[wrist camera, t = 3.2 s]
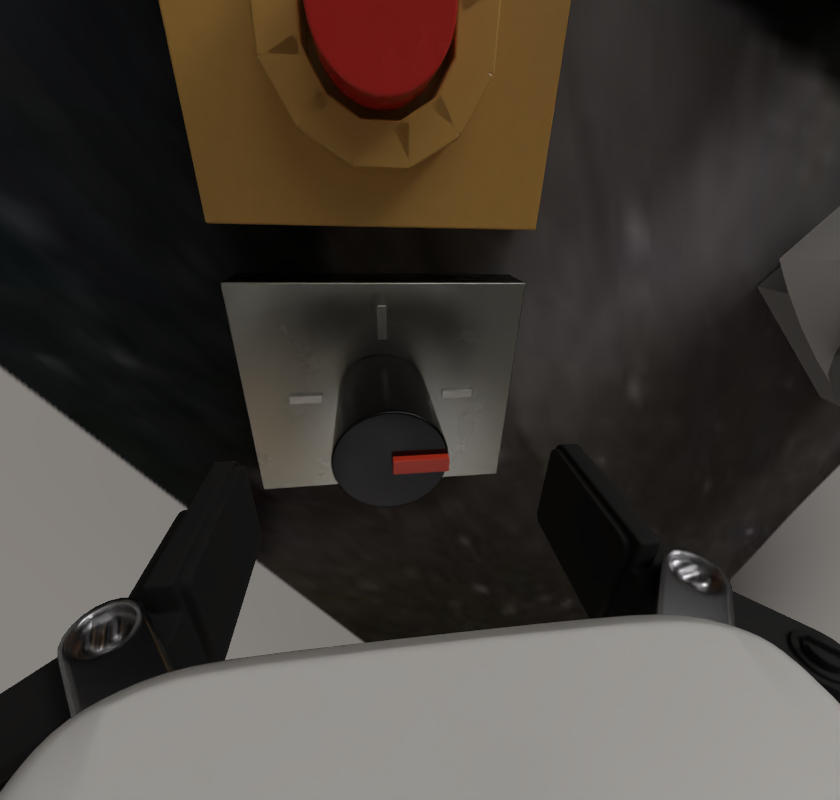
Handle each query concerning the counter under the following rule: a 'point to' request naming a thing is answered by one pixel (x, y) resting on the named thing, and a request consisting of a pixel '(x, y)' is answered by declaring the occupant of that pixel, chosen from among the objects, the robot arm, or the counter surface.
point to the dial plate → (366, 337)
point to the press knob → (381, 46)
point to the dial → (387, 434)
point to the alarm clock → (811, 304)
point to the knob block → (366, 120)
